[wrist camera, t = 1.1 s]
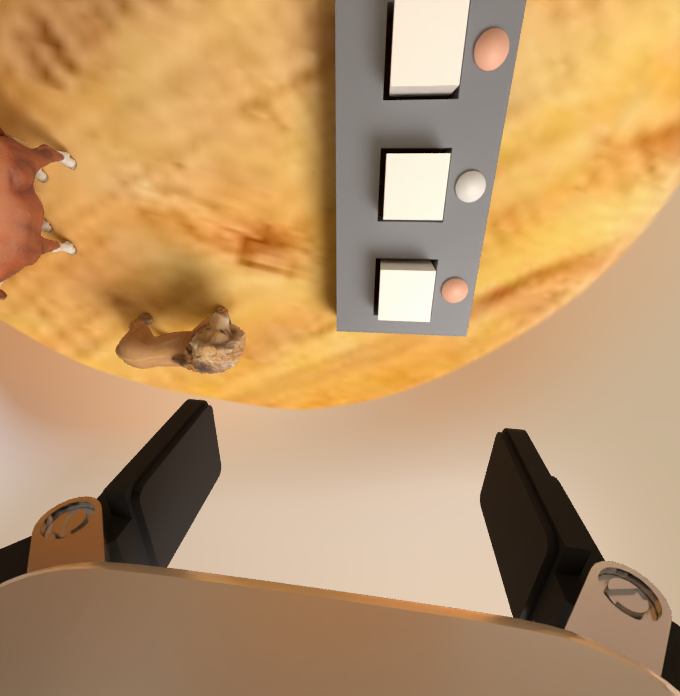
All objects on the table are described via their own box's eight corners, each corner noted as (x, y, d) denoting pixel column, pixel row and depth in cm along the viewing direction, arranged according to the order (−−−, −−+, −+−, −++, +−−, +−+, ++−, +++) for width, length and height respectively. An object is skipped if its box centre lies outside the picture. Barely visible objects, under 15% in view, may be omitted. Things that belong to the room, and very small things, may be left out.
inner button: (392, 20, 22) (395, -4, 19) (458, 17, 22) (470, -8, 19) (389, 96, 24) (390, 86, 21) (448, 95, 24) (459, 85, 21)
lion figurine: (255, 284, 33) (215, 321, 25) (274, 335, 35) (243, 384, 27) (123, 316, 36) (50, 359, 28) (148, 361, 38) (87, 412, 30)
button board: (340, -10, 23) (334, -35, 20) (515, -18, 22) (535, -46, 19) (340, 318, 34) (336, 331, 31) (459, 322, 33) (466, 337, 30)
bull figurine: (31, 269, 35) (-61, 296, 27) (35, 121, 29) (-82, 106, 21) (75, 289, 35) (-4, 320, 28) (88, 147, 29) (-8, 140, 22)
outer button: (380, 258, 29) (380, 269, 26) (430, 259, 29) (436, 271, 26) (378, 304, 31) (377, 320, 28) (424, 306, 31) (429, 322, 28)
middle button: (386, 155, 26) (386, 153, 23) (442, 155, 25) (450, 153, 22) (382, 213, 28) (383, 219, 24) (435, 214, 27) (442, 220, 24)
